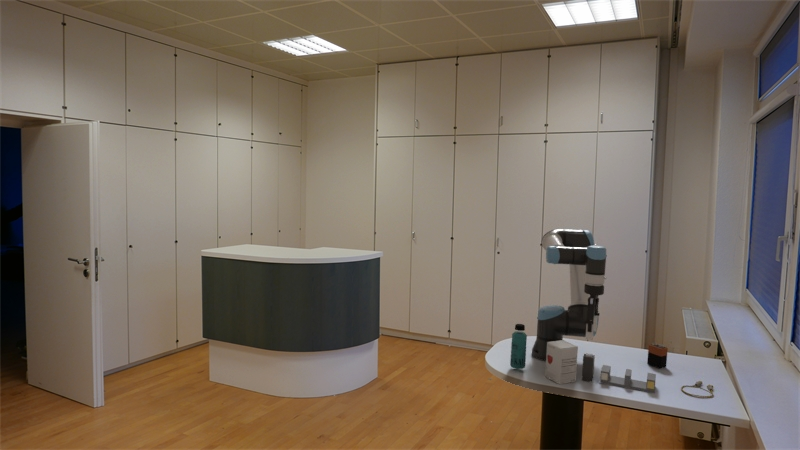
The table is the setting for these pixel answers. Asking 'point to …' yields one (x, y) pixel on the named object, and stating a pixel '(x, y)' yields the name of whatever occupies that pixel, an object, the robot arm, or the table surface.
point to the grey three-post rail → (628, 380)
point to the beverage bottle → (518, 347)
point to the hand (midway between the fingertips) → (591, 335)
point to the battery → (657, 355)
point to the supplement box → (561, 361)
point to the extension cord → (699, 383)
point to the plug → (588, 367)
